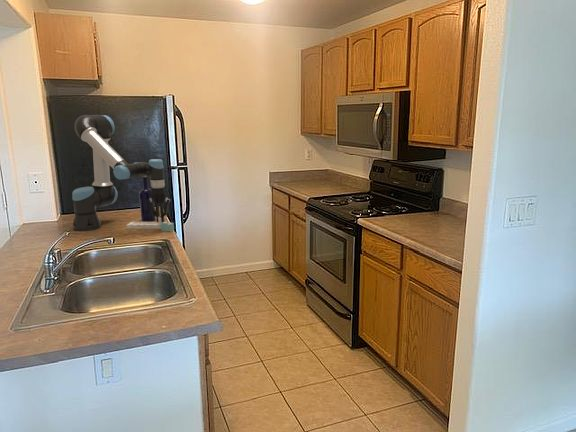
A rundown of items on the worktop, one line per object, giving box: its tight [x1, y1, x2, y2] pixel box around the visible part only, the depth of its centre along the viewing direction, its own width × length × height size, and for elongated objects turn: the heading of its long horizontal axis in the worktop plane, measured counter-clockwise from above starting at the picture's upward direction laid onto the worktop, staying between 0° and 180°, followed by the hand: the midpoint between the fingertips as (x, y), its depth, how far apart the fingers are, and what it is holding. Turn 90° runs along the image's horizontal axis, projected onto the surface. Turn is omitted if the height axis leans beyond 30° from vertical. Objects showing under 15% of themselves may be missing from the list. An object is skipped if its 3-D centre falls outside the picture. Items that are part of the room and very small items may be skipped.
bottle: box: [138, 176, 157, 222], centre depth 266 cm, size 9×9×30 cm
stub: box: [160, 222, 175, 232], centre depth 246 cm, size 6×5×4 cm
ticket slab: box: [125, 221, 169, 230], centre depth 254 cm, size 22×8×2 cm, turn 87°
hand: (161, 227), depth 247 cm, fingers closed
